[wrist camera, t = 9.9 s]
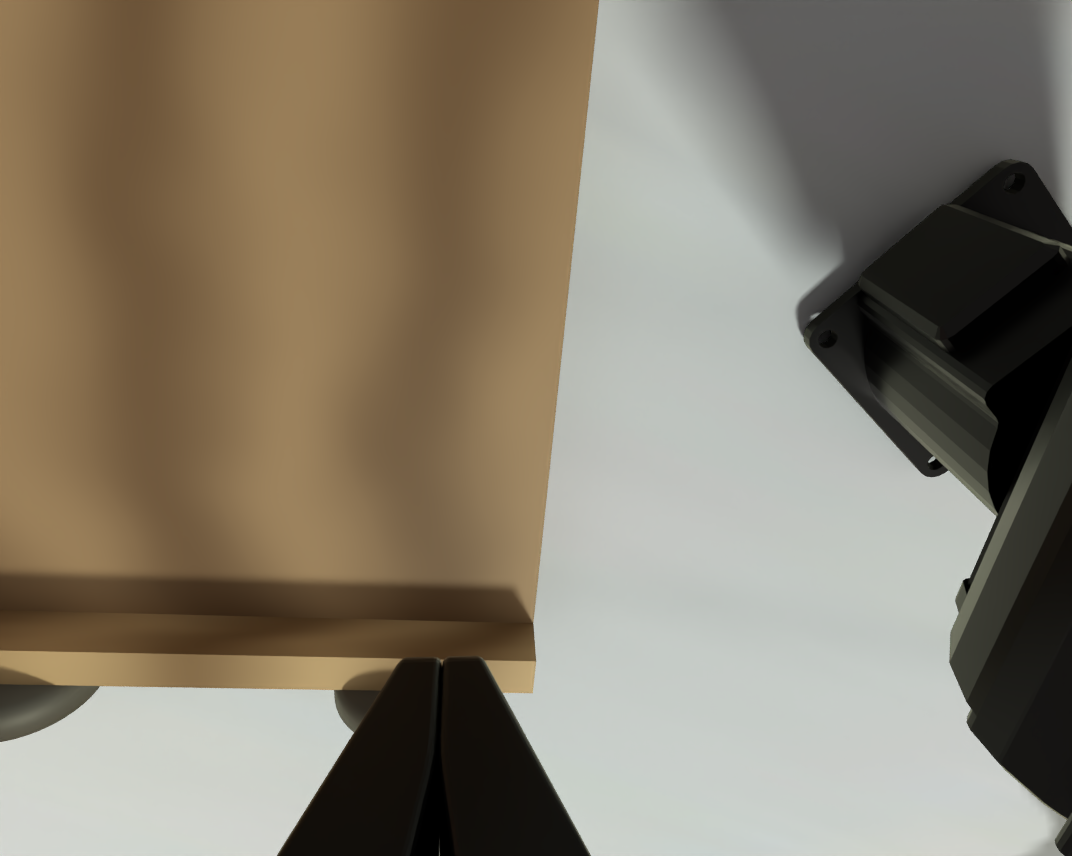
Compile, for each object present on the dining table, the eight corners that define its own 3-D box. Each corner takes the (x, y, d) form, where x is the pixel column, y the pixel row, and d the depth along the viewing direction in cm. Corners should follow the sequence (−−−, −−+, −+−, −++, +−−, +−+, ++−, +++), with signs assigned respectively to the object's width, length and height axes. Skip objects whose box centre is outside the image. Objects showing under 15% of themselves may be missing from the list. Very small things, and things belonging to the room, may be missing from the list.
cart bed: (614, -271, 14) (660, -382, 10) (524, 636, 25) (530, 749, 21) (-436, -408, 13) (-839, -599, 9) (-59, 623, 23) (-168, 742, 19)
